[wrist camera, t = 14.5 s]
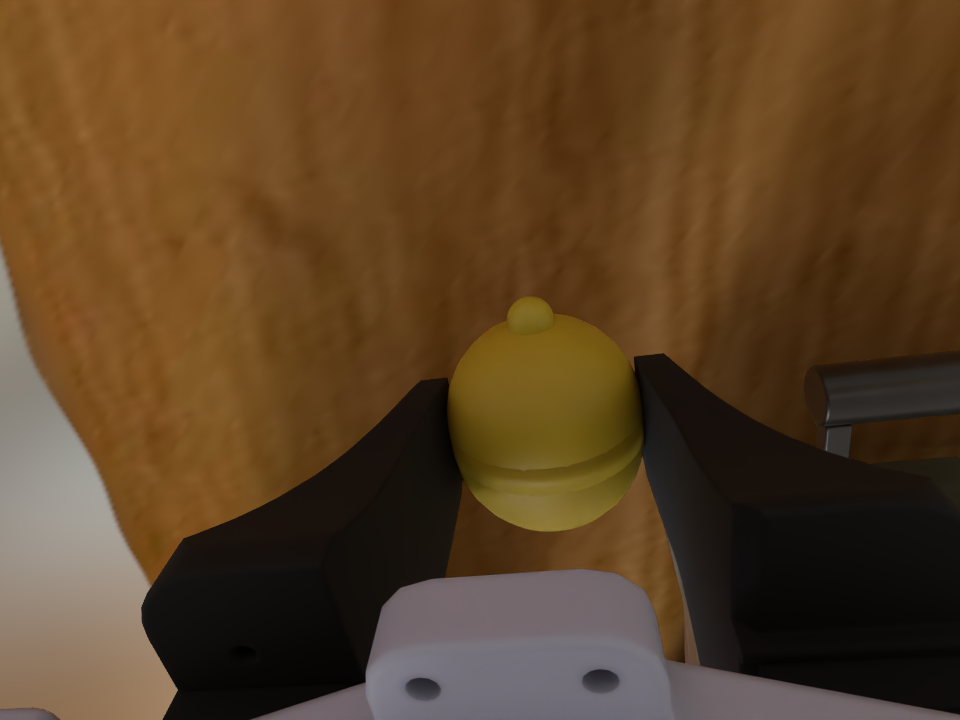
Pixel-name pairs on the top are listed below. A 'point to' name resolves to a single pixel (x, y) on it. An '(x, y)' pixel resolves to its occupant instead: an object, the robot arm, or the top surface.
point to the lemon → (545, 419)
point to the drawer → (874, 417)
